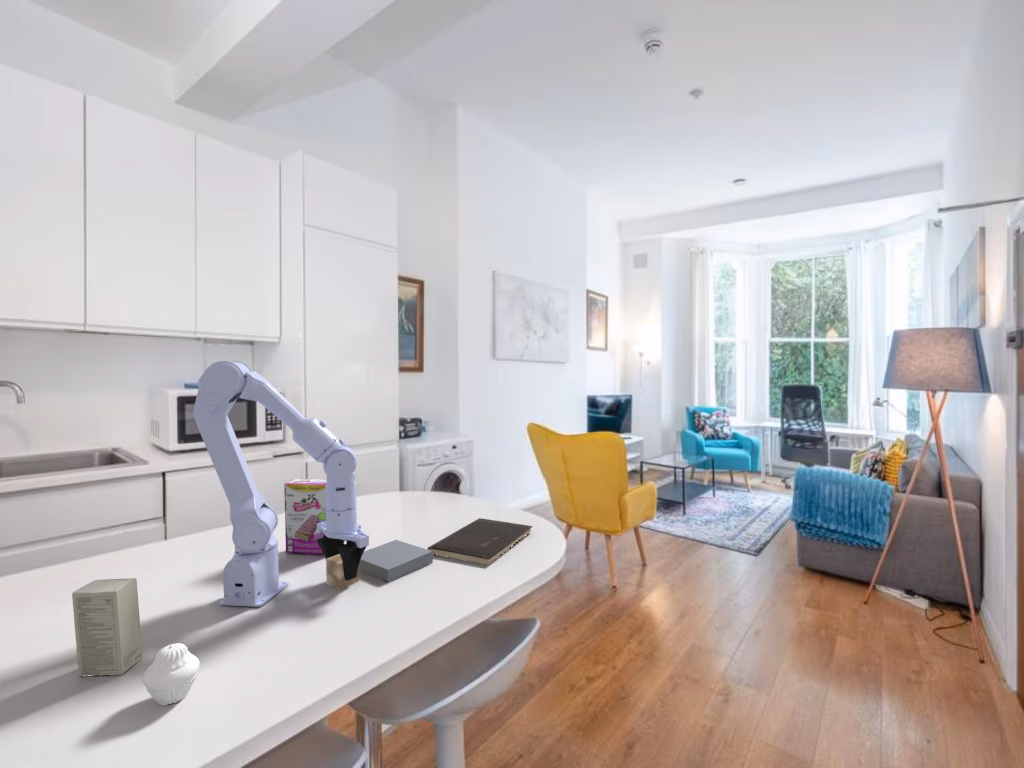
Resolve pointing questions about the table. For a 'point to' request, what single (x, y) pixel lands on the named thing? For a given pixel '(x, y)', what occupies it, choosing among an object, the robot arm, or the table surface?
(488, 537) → the hardcover book
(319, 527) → the robot arm
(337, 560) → the oak block
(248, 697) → the table surface
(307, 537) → the candy bar box
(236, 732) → the table surface
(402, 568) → the slate base
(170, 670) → the muffin
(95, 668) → the skincare box
